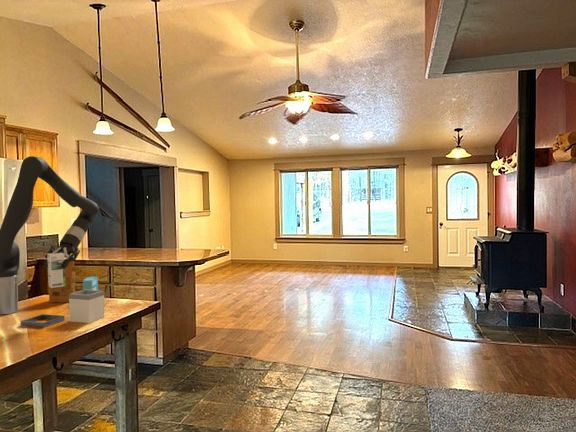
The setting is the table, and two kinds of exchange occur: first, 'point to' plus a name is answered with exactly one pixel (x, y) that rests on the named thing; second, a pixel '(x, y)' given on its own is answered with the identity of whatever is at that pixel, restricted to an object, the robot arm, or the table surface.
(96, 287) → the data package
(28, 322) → the lower collar
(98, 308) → the raised dock
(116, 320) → the table surface
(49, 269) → the syrup box
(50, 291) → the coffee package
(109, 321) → the table surface
